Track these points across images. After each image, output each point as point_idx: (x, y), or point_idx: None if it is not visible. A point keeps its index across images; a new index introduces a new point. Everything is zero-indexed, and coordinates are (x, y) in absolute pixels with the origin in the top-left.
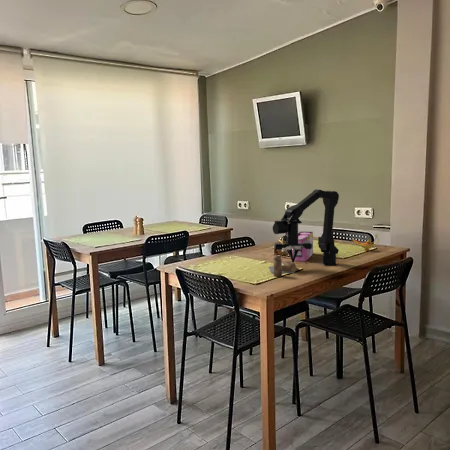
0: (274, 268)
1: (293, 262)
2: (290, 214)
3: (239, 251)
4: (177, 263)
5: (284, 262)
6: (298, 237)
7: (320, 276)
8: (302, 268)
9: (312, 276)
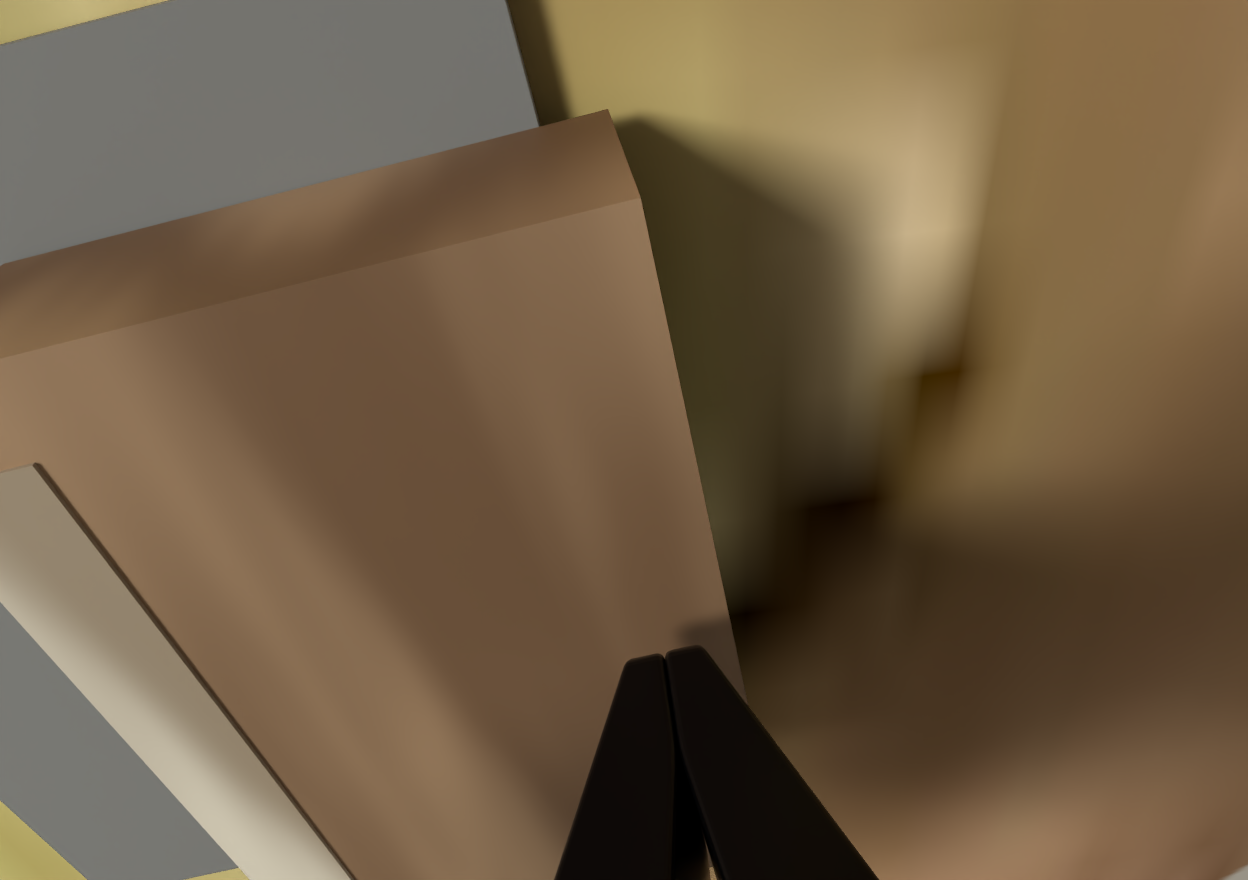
0: None
1: (678, 505)
2: None
3: None
4: None
5: (227, 590)
6: None
7: (1224, 846)
8: (988, 238)
9: (1067, 870)
